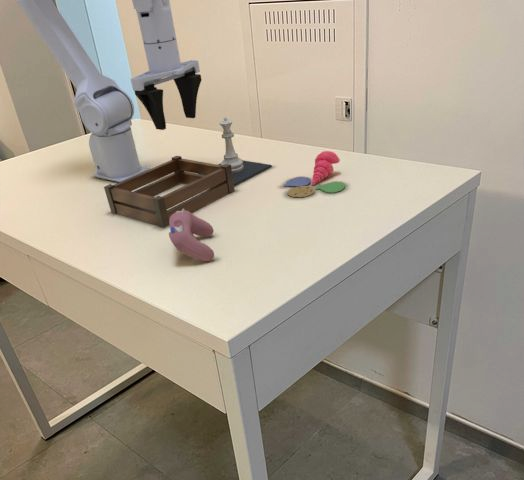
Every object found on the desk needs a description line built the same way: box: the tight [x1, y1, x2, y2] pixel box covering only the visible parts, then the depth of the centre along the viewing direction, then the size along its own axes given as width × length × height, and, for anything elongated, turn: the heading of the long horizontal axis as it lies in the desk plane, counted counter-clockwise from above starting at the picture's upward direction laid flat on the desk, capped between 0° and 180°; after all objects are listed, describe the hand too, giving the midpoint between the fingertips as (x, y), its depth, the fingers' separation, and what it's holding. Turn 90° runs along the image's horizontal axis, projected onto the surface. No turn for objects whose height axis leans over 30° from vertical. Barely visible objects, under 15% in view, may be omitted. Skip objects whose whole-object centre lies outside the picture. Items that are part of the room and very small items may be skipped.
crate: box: [103, 155, 236, 228], centre depth 97 cm, size 14×17×5 cm
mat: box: [200, 159, 273, 187], centre depth 108 cm, size 11×11×1 cm
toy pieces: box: [283, 150, 346, 198], centre depth 97 cm, size 12×11×4 cm
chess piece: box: [219, 116, 244, 174], centre depth 105 cm, size 4×4×10 cm
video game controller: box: [168, 209, 215, 262], centre depth 80 cm, size 10×5×7 cm, turn 5°
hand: (176, 123), depth 102 cm, fingers open, 7 cm apart
